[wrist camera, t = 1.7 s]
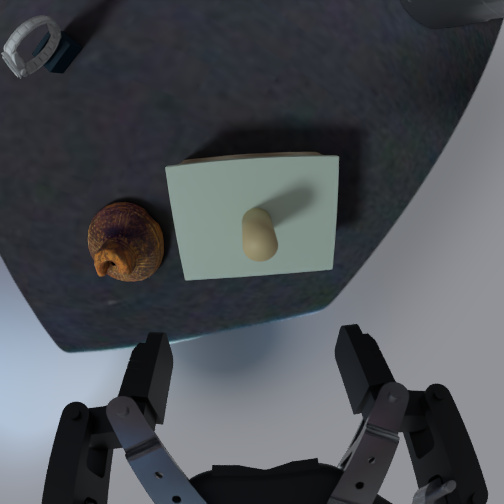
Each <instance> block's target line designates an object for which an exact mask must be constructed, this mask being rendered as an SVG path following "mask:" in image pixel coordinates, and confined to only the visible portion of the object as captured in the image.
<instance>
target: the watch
mask: <svg viewBox="0 0 504 504" xmlns="http://www.w3.org/2000/svg"><path fill="white" fill-rule="evenodd" d="M43 24H47V26H48V29H49V31H48V32H47V34H46V35H45V36H44V38H43V39H42V40H41V42H40V43H39V45H38V46H37V48H36V49H35V50H34V52H33V53H32V55H33V56H34V57H35V58H33V59H32V60H31V61H30V62H27V63H26V64H25V62H24V61H23V59H22V58H21V56H20V55H19V54H18V53H17V51H16V49H17V46H18V45H19V44H20V42H21V41H22V39H24V37H25V36H26V35H27V34H28V33H30V32H31V31H32V30H33V29H34V28H36V27H38V26H40V25H43ZM81 49H82V47H81V46H80V45H79V44H77V43H76V42H75V41H74V40H73V39H72V38H70V37H69V36H68V35H67V34H66V33H64V32H63V31H61V30H60V27H59V26H58V24H57V23H56V22H55V21H54V20H53V19H52V18H50V17H49V16H48V17H47V16H44V15H41V16H36V17H33V18H31V19H29V20H28V21H26V22H24V23H23V24H21V26H19V27H18V28H17V29H16V30H15V31H14V32H13V34H12V35H11V36H10V38H9V39H8V41H7V43H6V44H5V45H4V52H2V53H1V55H2V57H3V59H4V61H5V62H6V64H7V65H8V66H9V68H10V69H11V70H12V71H13V73H14V74H15V75H16V76H17V77H18V78H20V79H21V78H22V76H24V77H27V76H28V75H30V74H32V73H33V72H35V71H36V70H38V69H39V68H40V67H42V65H43V66H44V67H45V68H46V69H47V70H48V71H49V72H53V73H64V71H65V70H66V69H67V67H68V66H69V64H70V63H71V62H72V61H73V59H74V58H75V57H76V55H77V54H78V53H79V52H80V50H81Z"/></svg>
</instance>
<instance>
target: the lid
mask: <svg viewBox="0 0 504 504" xmlns="http://www.w3.org/2000/svg"><path fill="white" fill-rule="evenodd" d="M165 169H166V176H167V183H168V190H169V196H170V202H171V208H172V214H173V220H174V226H175V231H176V236H177V242H178V247H179V252H180V257H181V262H182V267H183V271H184V276H185V280H199V279H215V278H230V277H245V276H258V275H272V274H284V273H296V272H308V271H320V270H331V269H332V267H333V256H334V245H335V233H336V218H337V201H338V176H339V156H337V155H296V156H268V157H250V158H236V159H224V160H213V161H203V162H194V163H186V164H178V165H170V166H166V167H165Z"/></svg>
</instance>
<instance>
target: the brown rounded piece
mask: <svg viewBox="0 0 504 504" xmlns="http://www.w3.org/2000/svg"><path fill="white" fill-rule="evenodd" d="M125 218H126V219H125ZM109 236H110V237H109ZM112 238H113V239H112ZM88 245H89V251H90V254H91V256H92V258H93V259H94V265H95V267H96V271H97V274H98V275H99V276H105V275H106V274H108V275H109V276H111V277H113V278H116V279H119V280H121V281H139V280H144V279H146V278H148V277H149V276H151V275H152V274H153V273H154V272H155V271H156V270H157V269H158V268H159V266H160V264H161V262H162V257H163V254H164V239H163V234H162V230H161V228H160V226H159V224H158V223H157V222H156V221H155V220H154V219H153V218H152V217H151V216H150V215H149V214H148V213H147V211H146V210H145V209H144V208H142V207H140V206H138V205H136V204H133V203H128V202H118V203H113V204H111V205H108V206H106V207H104V208H103V209H102V210H100V211H99V212H98V213H97V214H96V215H95V216H94V218H93V219H92V221H91V224H90V226H89V230H88ZM129 253H130V254H129ZM156 253H157V254H156ZM111 261H112V262H114V263H115V264H116V265H115V266H113V265H112V263H111Z"/></svg>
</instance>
